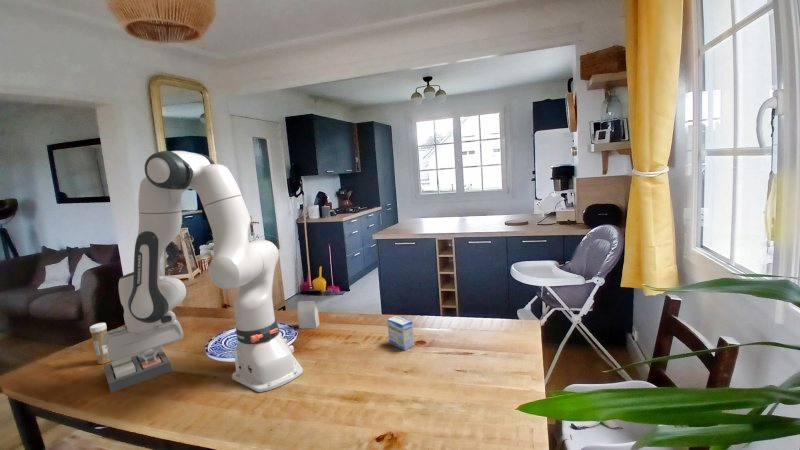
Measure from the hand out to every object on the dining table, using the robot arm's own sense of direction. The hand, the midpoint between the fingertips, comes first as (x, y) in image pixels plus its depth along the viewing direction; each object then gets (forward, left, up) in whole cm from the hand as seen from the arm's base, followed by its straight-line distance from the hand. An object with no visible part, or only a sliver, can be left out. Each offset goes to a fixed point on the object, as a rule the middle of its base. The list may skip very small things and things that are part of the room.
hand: (151, 362), depth 124 cm
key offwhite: (0, +7, -1) cm, 7 cm away
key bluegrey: (+7, 0, -1) cm, 7 cm away
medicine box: (-51, -63, -4) cm, 80 cm away
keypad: (+3, +3, -3) cm, 6 cm away
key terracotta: (0, 0, -2) cm, 2 cm away
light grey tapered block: (-11, -51, -4) cm, 52 cm away
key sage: (+7, +7, -1) cm, 10 cm away
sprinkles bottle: (+23, +10, -4) cm, 26 cm away
